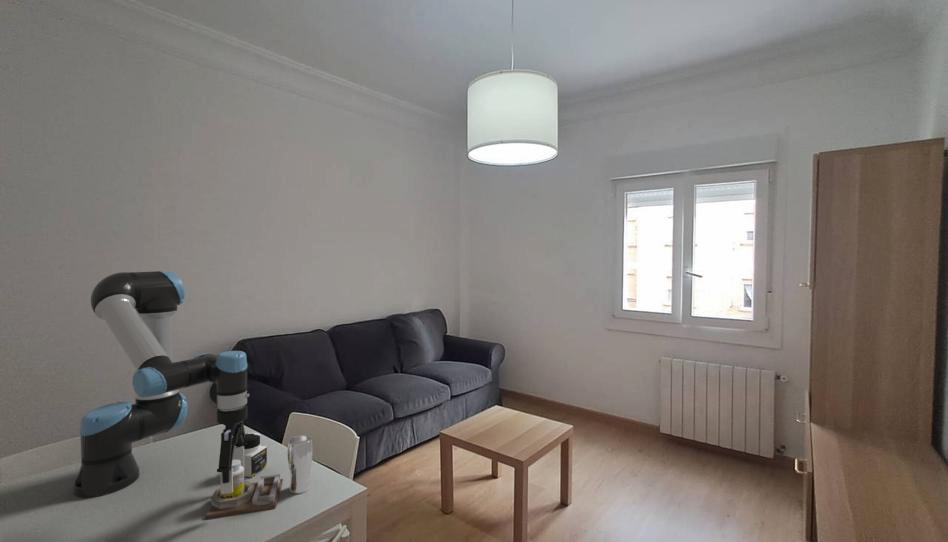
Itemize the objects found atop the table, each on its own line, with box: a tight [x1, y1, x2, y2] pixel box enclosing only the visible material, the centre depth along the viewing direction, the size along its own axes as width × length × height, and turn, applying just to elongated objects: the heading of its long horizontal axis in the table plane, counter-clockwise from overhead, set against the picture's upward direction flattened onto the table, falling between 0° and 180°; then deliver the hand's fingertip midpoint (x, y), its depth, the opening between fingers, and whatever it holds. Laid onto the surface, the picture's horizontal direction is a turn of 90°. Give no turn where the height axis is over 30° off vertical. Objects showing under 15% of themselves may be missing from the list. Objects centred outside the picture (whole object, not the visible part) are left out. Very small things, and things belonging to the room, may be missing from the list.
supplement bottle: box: [222, 460, 245, 499], centre depth 119 cm, size 6×6×10 cm
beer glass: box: [287, 434, 313, 495], centre depth 126 cm, size 7×7×15 cm
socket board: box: [205, 473, 284, 520], centre depth 120 cm, size 14×17×3 cm
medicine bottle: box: [233, 432, 268, 478], centre depth 136 cm, size 7×7×12 cm
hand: (233, 480), depth 119 cm, fingers open, 13 cm apart
